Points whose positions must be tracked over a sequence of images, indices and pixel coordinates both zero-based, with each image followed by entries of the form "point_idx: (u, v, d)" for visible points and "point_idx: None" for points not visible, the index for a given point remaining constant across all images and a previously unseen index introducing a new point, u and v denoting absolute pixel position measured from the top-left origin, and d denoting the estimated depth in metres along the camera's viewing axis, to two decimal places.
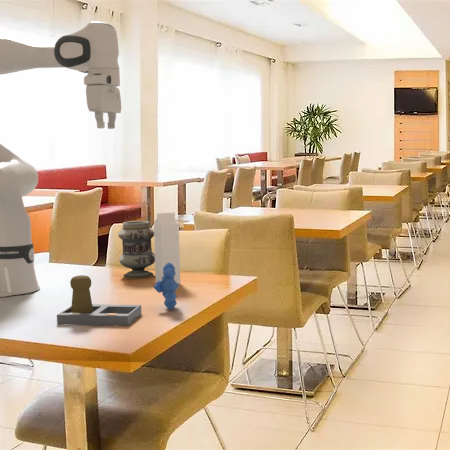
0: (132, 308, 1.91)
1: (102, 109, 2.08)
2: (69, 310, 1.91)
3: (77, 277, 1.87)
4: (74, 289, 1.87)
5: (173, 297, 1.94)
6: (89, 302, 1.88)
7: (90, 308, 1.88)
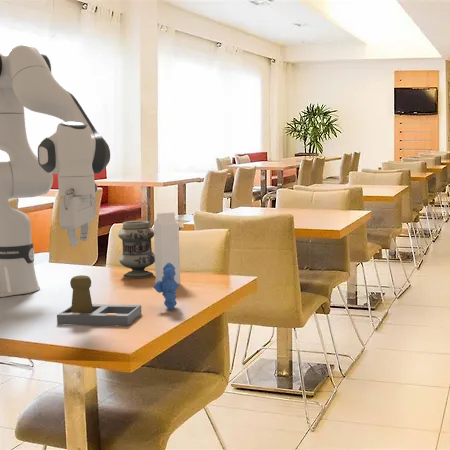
0: (132, 308, 1.91)
1: None
2: (69, 310, 1.91)
3: (77, 277, 1.87)
4: (74, 289, 1.87)
5: (173, 297, 1.94)
6: (89, 302, 1.88)
7: (90, 308, 1.88)
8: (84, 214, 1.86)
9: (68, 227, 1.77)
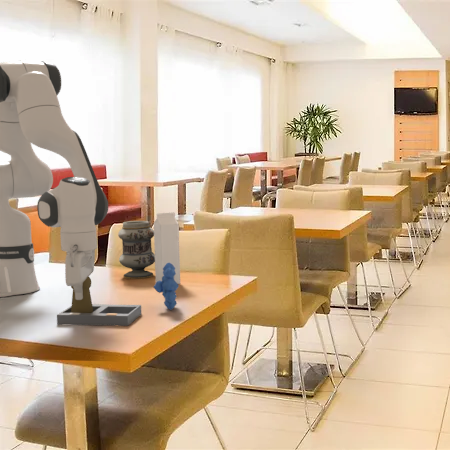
0: (132, 308, 1.91)
1: None
2: (69, 310, 1.91)
3: None
4: None
5: (173, 297, 1.94)
6: (89, 302, 1.88)
7: (90, 308, 1.88)
8: (86, 268, 1.88)
9: (74, 284, 1.79)
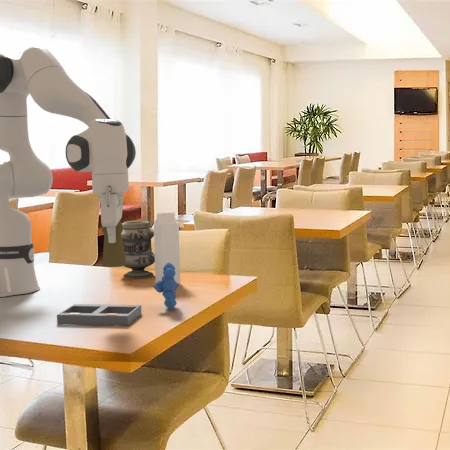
0: (132, 308, 1.91)
1: None
2: (69, 310, 1.91)
3: None
4: (107, 234, 1.84)
5: (173, 297, 1.94)
6: (122, 247, 1.85)
7: (123, 253, 1.85)
8: None
9: (110, 224, 1.75)
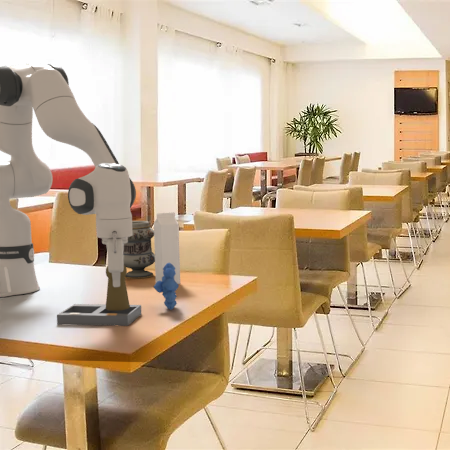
0: (132, 308, 1.91)
1: None
2: (69, 310, 1.91)
3: None
4: (111, 278, 1.85)
5: (173, 297, 1.94)
6: (126, 291, 1.87)
7: (126, 296, 1.87)
8: None
9: (117, 271, 1.77)
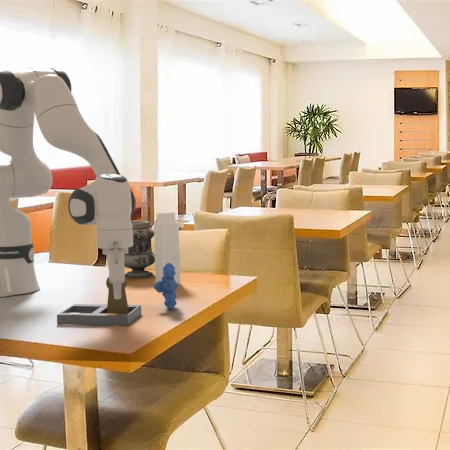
0: (132, 308, 1.91)
1: None
2: (69, 310, 1.91)
3: None
4: (111, 289, 1.86)
5: (173, 297, 1.94)
6: (126, 302, 1.88)
7: (127, 307, 1.88)
8: None
9: (118, 281, 1.77)
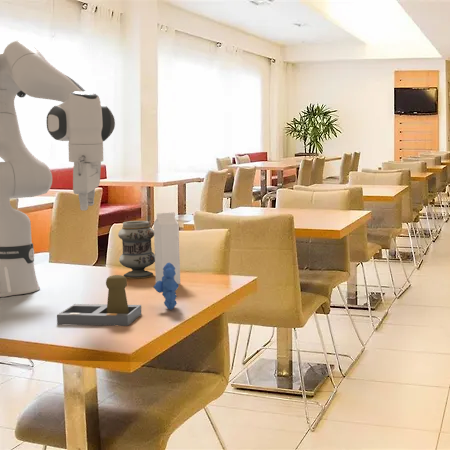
0: (132, 308, 1.91)
1: None
2: (69, 310, 1.91)
3: (114, 277, 1.86)
4: (111, 289, 1.86)
5: (173, 297, 1.94)
6: (126, 302, 1.88)
7: (127, 307, 1.88)
8: (93, 180, 1.96)
9: (81, 192, 1.87)
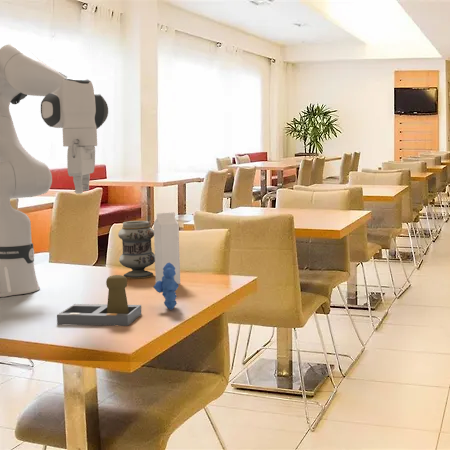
0: (132, 308, 1.91)
1: None
2: (69, 310, 1.91)
3: (114, 277, 1.86)
4: (111, 289, 1.86)
5: (173, 297, 1.94)
6: (126, 302, 1.88)
7: (127, 307, 1.88)
8: (87, 164, 1.98)
9: (75, 174, 1.89)
